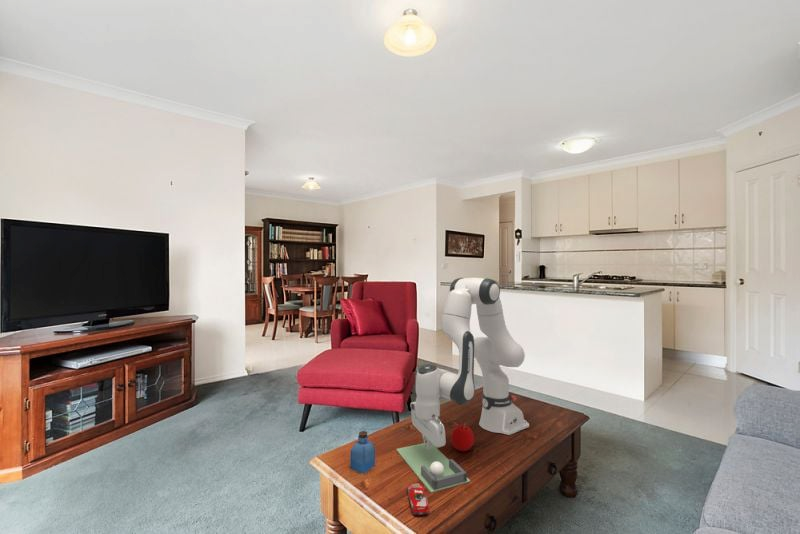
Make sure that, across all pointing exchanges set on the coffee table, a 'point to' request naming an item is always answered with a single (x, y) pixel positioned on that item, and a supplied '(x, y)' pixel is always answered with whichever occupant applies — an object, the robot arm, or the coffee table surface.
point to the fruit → (462, 438)
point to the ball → (437, 469)
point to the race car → (417, 499)
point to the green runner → (425, 461)
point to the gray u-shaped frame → (446, 480)
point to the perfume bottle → (362, 454)
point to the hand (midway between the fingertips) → (427, 447)
